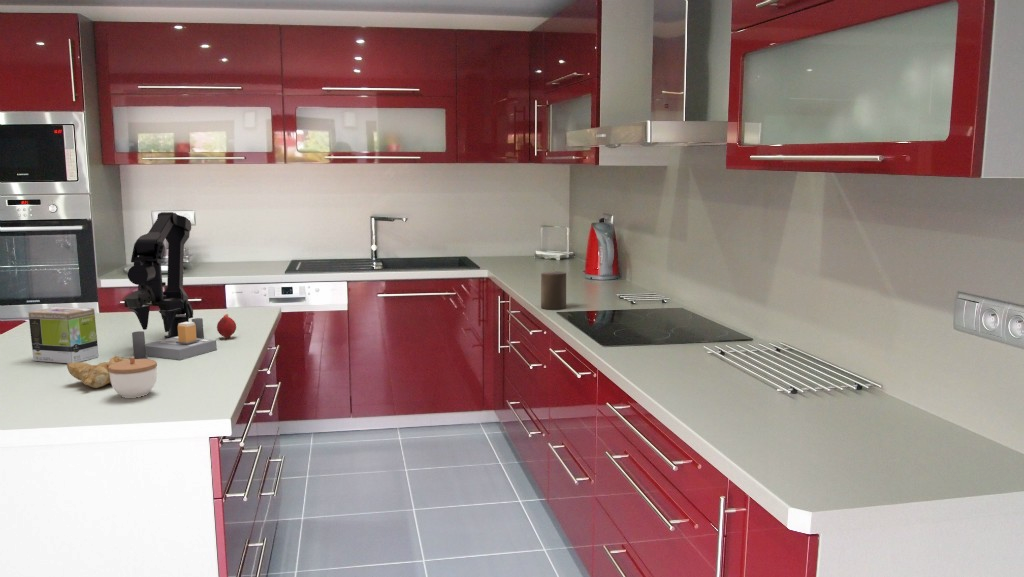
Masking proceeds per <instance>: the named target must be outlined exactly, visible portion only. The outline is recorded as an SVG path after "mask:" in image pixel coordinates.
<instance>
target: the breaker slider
mask: <svg viewBox="0 0 1024 577" xmlns="http://www.w3.org/2000/svg"><path fill="white" fill-rule="evenodd" d="M178 339H179V341H177V342H176V343H179V344H190V343H194V342H198V341H200V340H197V337H196V324H195V323H194V322H192V321H189V322H183V323H179V324H178Z"/></svg>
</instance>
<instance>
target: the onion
mask: <svg viewBox="0 0 1024 577" xmlns="http://www.w3.org/2000/svg"><path fill="white" fill-rule="evenodd" d="M216 330H217V332H218V334H219V335H220V336H221V337H223V338H225V339H229V338H230V337H231V336H233V334H235V332H236V331H237V324H236V322H235V320H234V319H233V318H232V317H230V316H229V314H228V313H226V314H223V317H222V318H220V320H219V321H217V325H216Z"/></svg>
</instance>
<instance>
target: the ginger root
mask: <svg viewBox="0 0 1024 577" xmlns="http://www.w3.org/2000/svg"><path fill="white" fill-rule="evenodd" d="M125 360H129V359H128V358H125V357H120V356H119V355H114V356H113V357H111V358H110V359H109V361H108V362H106V361H104V362H103V361H102V362H100V363H98V364H96V365H95V364H94V365H93V364H89V363H88V362H84V361H82V362H75V363H66V367H67V368H66V369H67V371H68V373H69V374H70V375H71V376H72V377H73V378H74V379H76V380H78V381H81V382H82V383H83V384H84V385H85V386H88V387H91V388H93V389H99V388H101V387H104V386H106V385H105V384H107V385H112V384H111V381H110V375H109V370H108V367H109V365H111V364H113V363H116V362H120V361H125Z"/></svg>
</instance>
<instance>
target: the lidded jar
mask: <svg viewBox="0 0 1024 577" xmlns="http://www.w3.org/2000/svg"><path fill="white" fill-rule="evenodd" d="M157 366H158V362H157V361H156V360H154V359H149V358H147V359H135V358H134V356H130V357H129V359H128V360H125V361H120V362H116V363H113V364H111V365H109V367H108V370H109V375H110V381H111V384H110V385H111V387H112V389H113V390H114V391H115V393H117V395H120V396H122V397H125V398H124V399H137V398H136V397H138V398H142V397H141V396H143V397H145V396H144V395H146V396H148V395H149V394H150V392H151V391H152V389H153V388H154V387H155V384H156V382H157V375H158V371H157V369H158V368H157ZM148 393H149V394H148ZM147 394H148V395H147ZM122 397H121V398H122Z"/></svg>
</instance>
